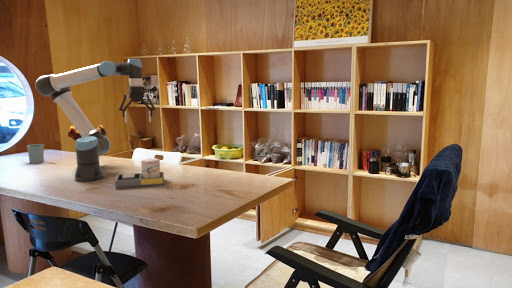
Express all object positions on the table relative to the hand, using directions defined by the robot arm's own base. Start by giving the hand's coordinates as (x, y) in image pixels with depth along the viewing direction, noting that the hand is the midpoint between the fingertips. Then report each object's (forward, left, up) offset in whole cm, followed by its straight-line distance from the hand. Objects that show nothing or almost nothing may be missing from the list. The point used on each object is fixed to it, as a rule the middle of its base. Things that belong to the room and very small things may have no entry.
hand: (138, 122), depth 232 cm
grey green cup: (-71, +54, -31) cm, 94 cm away
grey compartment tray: (+1, -27, -31) cm, 41 cm away
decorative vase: (-33, +28, -31) cm, 53 cm away
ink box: (+7, -27, -30) cm, 40 cm away
